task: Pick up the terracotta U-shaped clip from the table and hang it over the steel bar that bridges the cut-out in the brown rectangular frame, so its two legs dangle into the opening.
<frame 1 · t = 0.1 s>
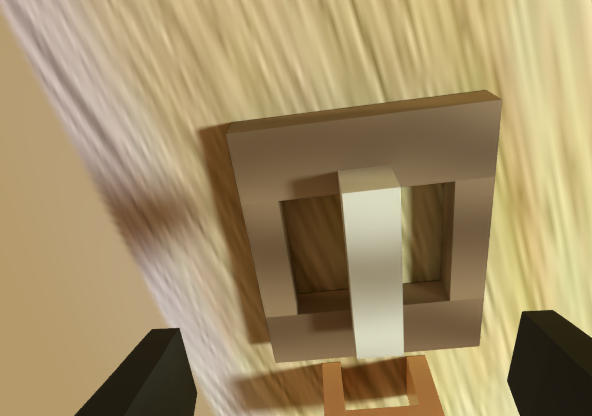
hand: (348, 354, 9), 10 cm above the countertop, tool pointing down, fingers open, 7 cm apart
clip: (374, 378, 24), on the countertop
brown rectangular frame: (364, 235, 19), on the countertop
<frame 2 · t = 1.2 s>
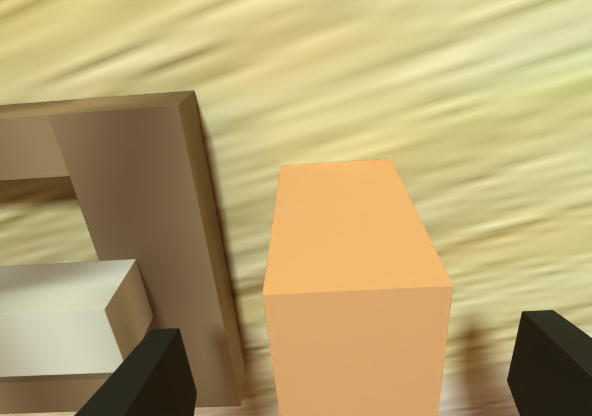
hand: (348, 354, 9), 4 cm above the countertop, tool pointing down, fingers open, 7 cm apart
clip: (338, 248, 13), on the countertop
brown rectangular frame: (37, 264, 13), on the countertop
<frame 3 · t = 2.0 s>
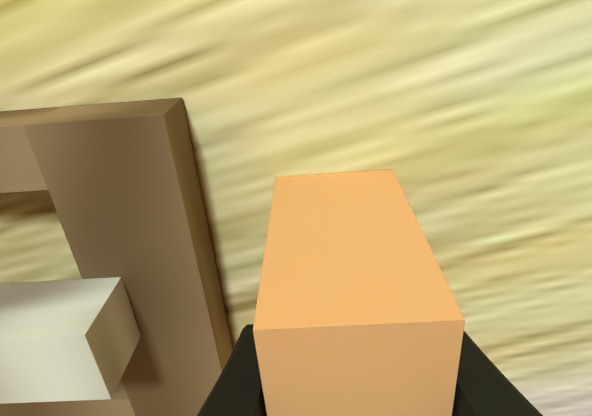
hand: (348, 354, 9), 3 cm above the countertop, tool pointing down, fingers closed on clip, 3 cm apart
clip: (337, 262, 12), on the countertop, touching gripper
brown rectangular frame: (18, 280, 13), on the countertop
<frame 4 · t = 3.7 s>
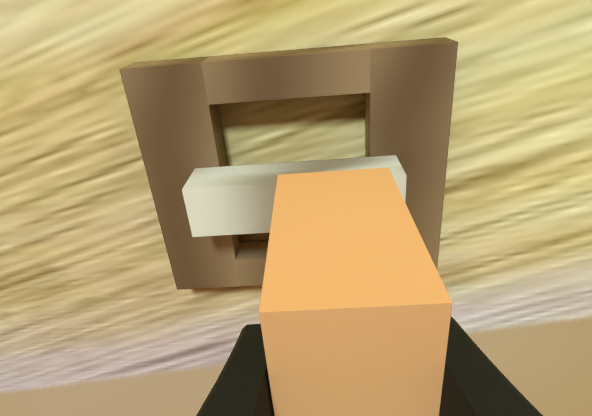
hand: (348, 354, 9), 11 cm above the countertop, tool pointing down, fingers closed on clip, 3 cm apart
clip: (336, 256, 13), point 7 cm above the countertop, touching gripper
brown rectangular frame: (296, 170, 19), on the countertop
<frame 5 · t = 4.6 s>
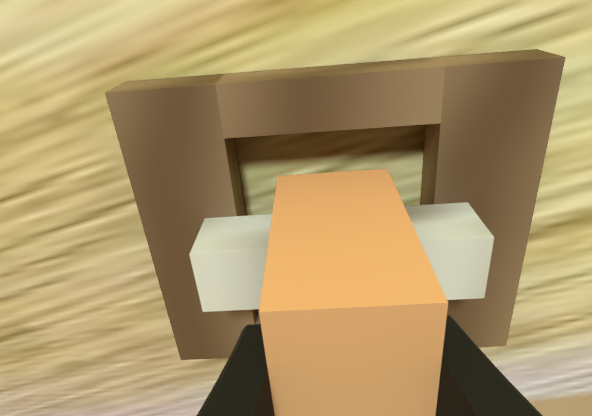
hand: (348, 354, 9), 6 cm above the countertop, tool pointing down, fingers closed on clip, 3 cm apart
clip: (335, 257, 13), point 2 cm above the countertop, touching gripper
brown rectangular frame: (332, 215, 15), on the countertop
when the fingers open (5 cm above the countertop, at t = 5.2 s): clip stays where it is, resting on brown rectangular frame.
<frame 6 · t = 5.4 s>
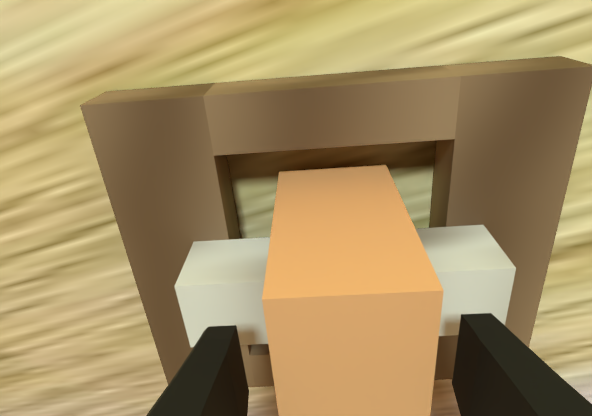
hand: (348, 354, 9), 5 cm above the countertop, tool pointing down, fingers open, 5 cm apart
clip: (335, 251, 13), resting on brown rectangular frame
brown rectangular frame: (333, 235, 13), on the countertop
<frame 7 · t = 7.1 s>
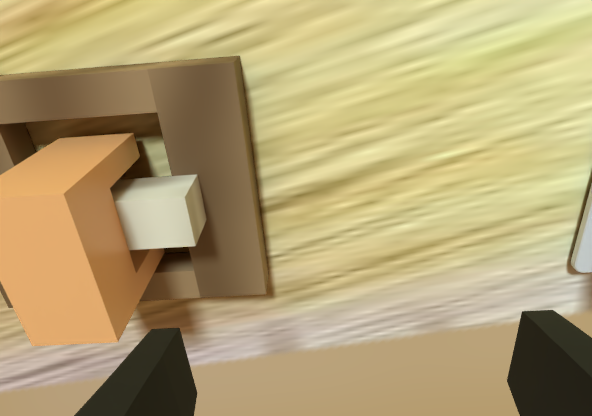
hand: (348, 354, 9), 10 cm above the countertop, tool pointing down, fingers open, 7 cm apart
clip: (115, 198, 18), resting on brown rectangular frame
brown rectangular frame: (118, 188, 18), on the countertop
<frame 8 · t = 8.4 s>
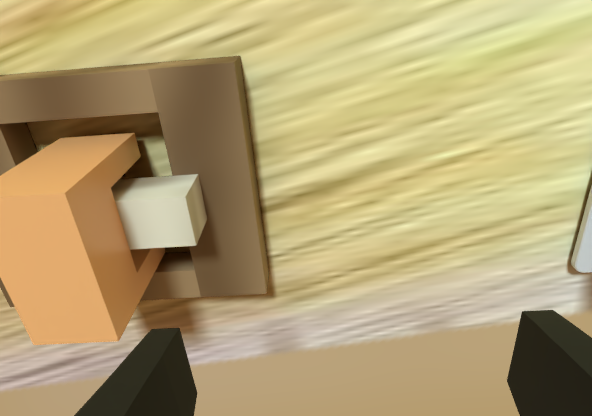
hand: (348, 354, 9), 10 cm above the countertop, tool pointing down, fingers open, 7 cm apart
clip: (116, 198, 18), resting on brown rectangular frame
brown rectangular frame: (119, 187, 18), on the countertop
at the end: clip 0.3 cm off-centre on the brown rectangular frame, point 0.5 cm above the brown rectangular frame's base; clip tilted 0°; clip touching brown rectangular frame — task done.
